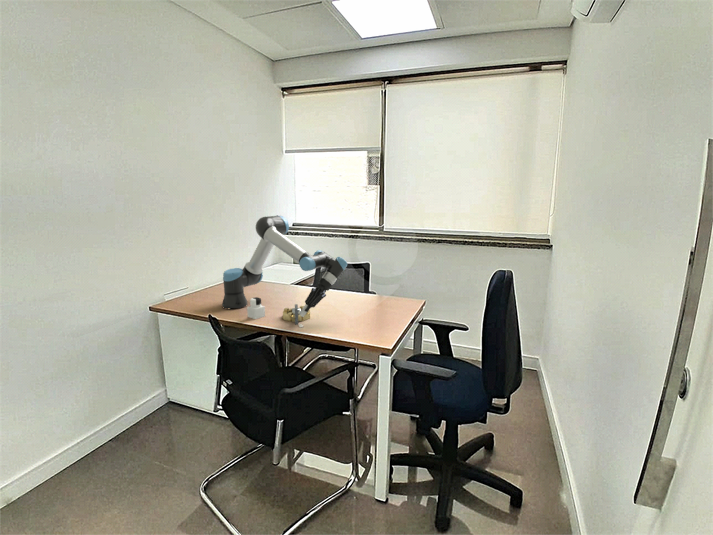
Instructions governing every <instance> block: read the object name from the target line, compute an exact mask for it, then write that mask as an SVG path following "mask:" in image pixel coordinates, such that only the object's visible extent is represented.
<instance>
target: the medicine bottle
mask: <svg viewBox="0 0 713 535" xmlns="http://www.w3.org/2000/svg"><path fill="white" fill-rule="evenodd" d="M249 304H250V306H246V310H247V318H250V319H253V320H258V319H261V318H264V317H266V306H265V305H262V299H261V298H260V297H257V296H256V297H252V298H250V299H249Z"/></svg>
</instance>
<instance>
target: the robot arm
mask: <svg viewBox="0 0 713 535" xmlns="http://www.w3.org/2000/svg"><path fill="white" fill-rule="evenodd" d="M289 230H290V225H289V221H288V219H287V218H286V217H285V216H283V215H272V216H271V215H270V216H268V215H267V216H262V217H260V218H259V219H258V220H256V223H255V231H256V234H257V235H258V236H259V237H260V240H259V242H258V244H257V246H256V248H255V250H254V252H253V254H252V256H251V258H250V260H249V261H248V262H246V263H245V264H244V266H243V268H241V267H234V268H229V269H226V270H225V271H224V272H223V273H222V274H223V277H222V280H223V292H224V296H223V299H222V303H221V306H223V307H224V308H223V307H222V308H223V309H225V308H230V309H229V310H232V309H231V308H239V309H242V308H241V307H243V308H245V307H244V306H246V305H247V306H248V301H247V297H246V295H245V291H244V288H247V287H251V286H255V285H257V284H258V283H260V282H262V280H263V277H264V276H263V273H264V272H263V266H264V264H265V262H266V260H267V259H268V257H269V254H270V253H271V252H272V249H273V247H274V246H275V247H276V248H278V249H279V250H280V251H282V252H283V253H285V254H286V255H288V257H290V258H292V259H293V261H294V260H295V261H296V262H297V263H298V264H299V267H300V269H301V270H302V271H304V272H309V271H313V270H316V269H319V268H324V269H326V270H325V273H324V274H322V276H321V278H320V279H319V280H318V281H317V284H318V285H317V286H316V287H312V288H311V290H310V292H309V294H308V295H307V297H306V299H305V300H304V303H305V305H303V306H304V307H303V309H302V310H301V311H300V313H299V315H300V316H302V317H304V316H305V314H306V313H307V312H308V311H309V310H310V309H312V308H316V306H317V305H318V304H319V303H320V302H321V301H322V300H323V299H324V298H326V296H327V294H326V292H327V291H330V289H332V286H333V285H334V284H335V283H336V281H337V280H338V279H339V277H340V276H341V275H342V273H343V272H344V271H345V270H346V268H347V266H348V262H347V260H345V258H343V257H341V256H337V257H335V258H334V257H333V256H331V255H330V254H328V253H327V252H325V251H323V250H320V249H318V250H316V251H315V252H314V253H313V254H311V253H309V252H307V251H306V250H304V249H303V248H302V247H301V246H299V245H298V244H296V243H295V242H294V241H292V240H291V239H289V238H288V237H287V236H285V235H286V234H287V233H288V232H289ZM247 306H246V307H247Z"/></svg>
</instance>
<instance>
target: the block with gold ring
mask: <svg viewBox="0 0 713 535" xmlns="http://www.w3.org/2000/svg"><path fill="white" fill-rule="evenodd" d="M298 306H299V305H298V304H297V303H295V304H294V307H291V308H289V307H285V308H284V309H283V311H282V320H283V321H286V322H291V323H294V324H295V326H297V325H298V326H299V322H304V321H307V320H309V319H311V310H310V309H309V311H308V312H307V313H306V314H305V316H304V317H302V316H300V315H298V308H301V310H302V309H303V307H304V306H305V305H300V306H299V307H298ZM293 308H295V315H293V313H292V309H293Z"/></svg>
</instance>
